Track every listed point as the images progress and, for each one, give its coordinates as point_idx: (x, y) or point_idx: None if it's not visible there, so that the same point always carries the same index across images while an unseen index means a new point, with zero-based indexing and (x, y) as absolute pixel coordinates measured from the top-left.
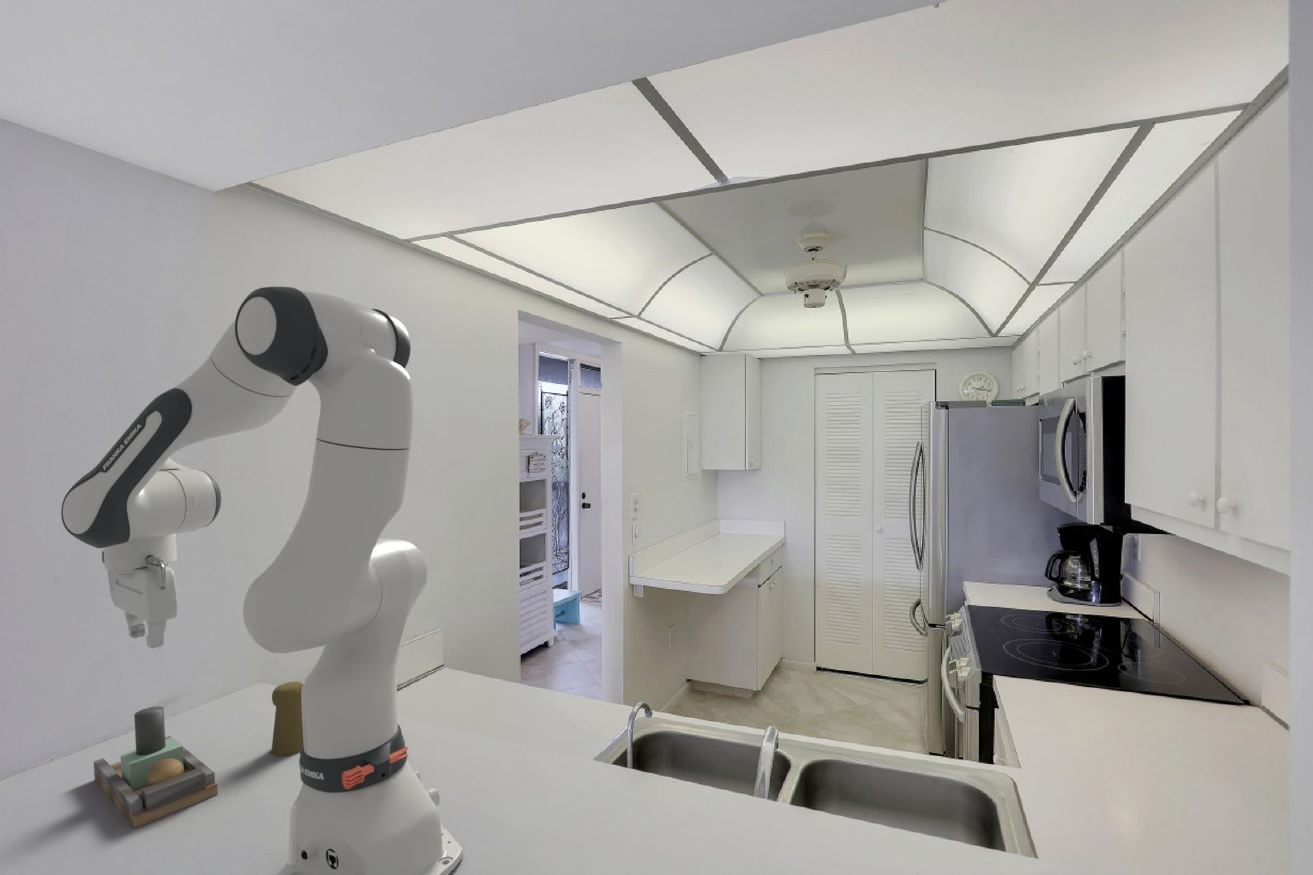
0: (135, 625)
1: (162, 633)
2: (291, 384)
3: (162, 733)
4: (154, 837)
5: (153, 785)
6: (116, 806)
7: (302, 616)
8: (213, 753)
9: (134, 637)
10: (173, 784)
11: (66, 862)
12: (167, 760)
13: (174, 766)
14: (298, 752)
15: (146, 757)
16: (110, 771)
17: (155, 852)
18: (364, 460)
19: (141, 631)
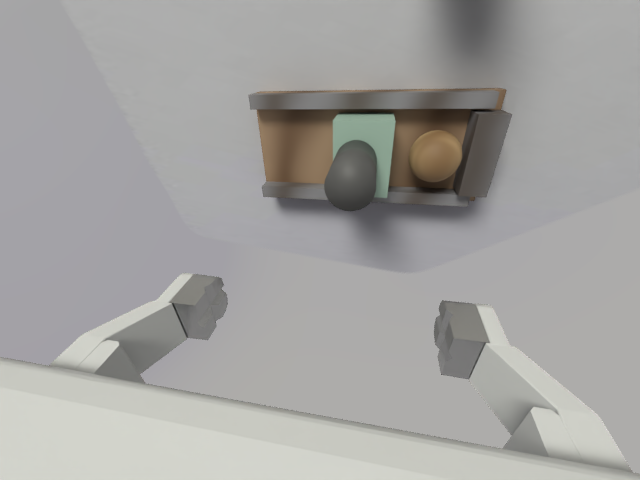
0: (180, 324)
1: (517, 355)
2: None
3: (371, 155)
4: (524, 187)
5: (464, 182)
6: None
7: None
8: (324, 35)
9: (226, 300)
10: (496, 163)
11: (468, 251)
12: (444, 162)
13: (459, 153)
14: None
15: (385, 175)
16: (322, 193)
17: (565, 197)
18: None
19: (210, 294)
